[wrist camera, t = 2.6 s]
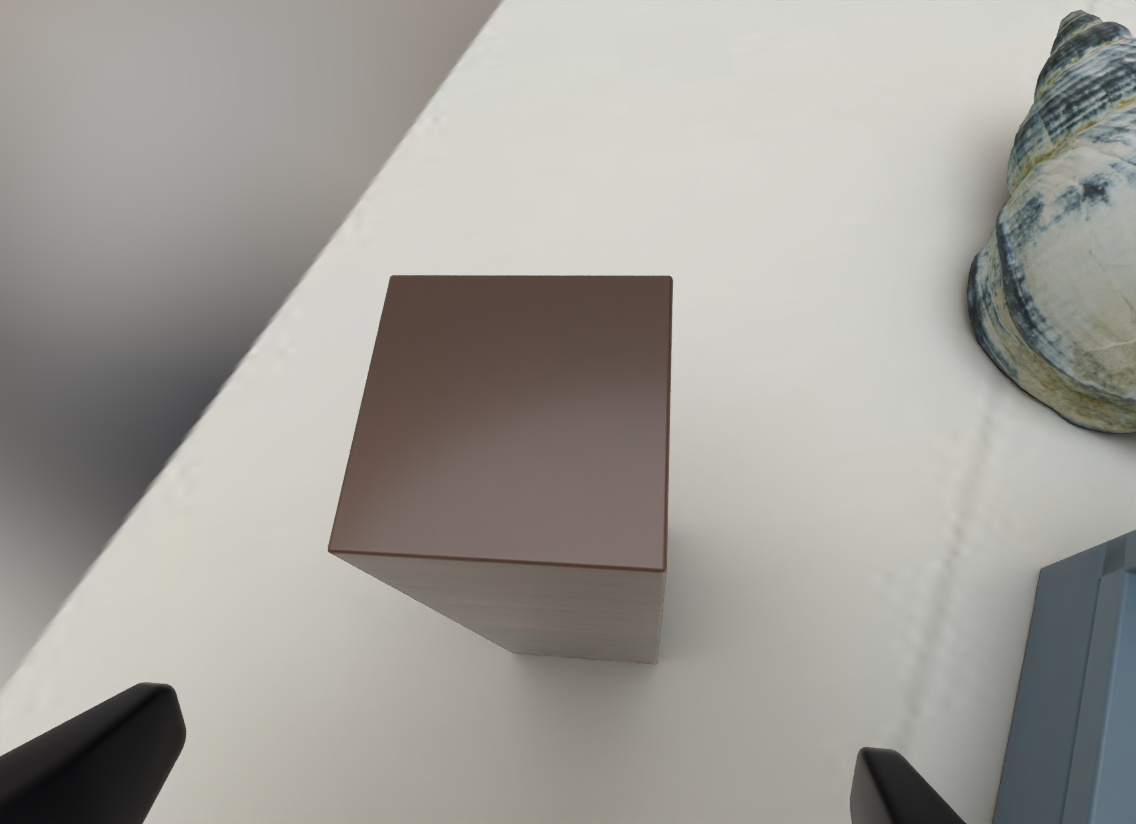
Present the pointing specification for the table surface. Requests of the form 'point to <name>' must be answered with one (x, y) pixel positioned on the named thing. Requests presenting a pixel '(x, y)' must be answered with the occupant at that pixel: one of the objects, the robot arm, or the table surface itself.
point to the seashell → (1069, 236)
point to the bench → (1077, 696)
